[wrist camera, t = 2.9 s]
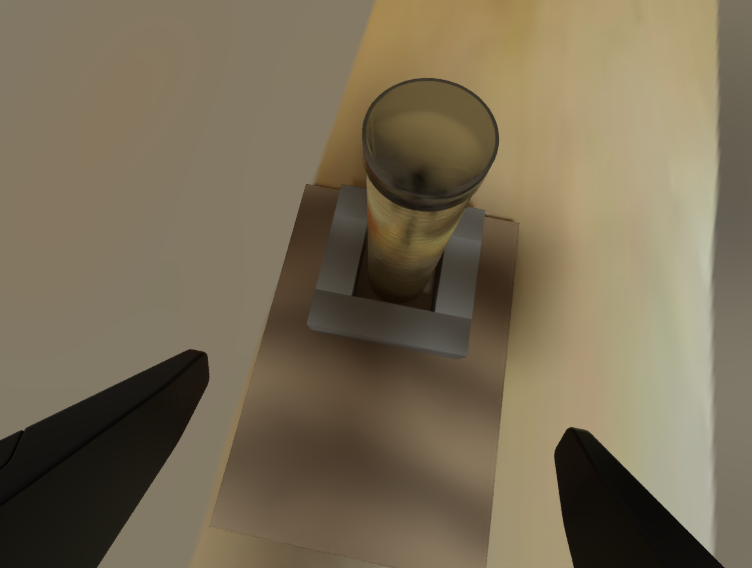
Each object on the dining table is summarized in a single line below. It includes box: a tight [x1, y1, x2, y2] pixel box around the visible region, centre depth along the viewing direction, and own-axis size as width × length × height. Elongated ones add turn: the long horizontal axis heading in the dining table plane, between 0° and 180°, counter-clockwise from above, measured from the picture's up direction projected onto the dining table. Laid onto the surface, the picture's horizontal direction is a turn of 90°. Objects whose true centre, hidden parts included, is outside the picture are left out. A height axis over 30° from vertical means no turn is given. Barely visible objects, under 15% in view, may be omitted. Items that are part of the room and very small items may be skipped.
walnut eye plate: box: [209, 184, 519, 568], centre depth 21 cm, size 20×14×3 cm
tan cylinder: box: [362, 78, 499, 303], centre depth 17 cm, size 4×4×13 cm
